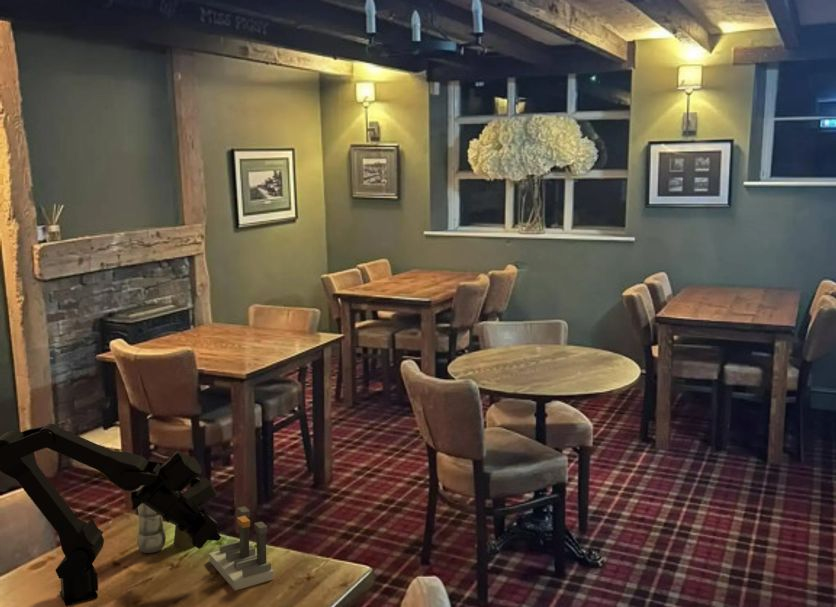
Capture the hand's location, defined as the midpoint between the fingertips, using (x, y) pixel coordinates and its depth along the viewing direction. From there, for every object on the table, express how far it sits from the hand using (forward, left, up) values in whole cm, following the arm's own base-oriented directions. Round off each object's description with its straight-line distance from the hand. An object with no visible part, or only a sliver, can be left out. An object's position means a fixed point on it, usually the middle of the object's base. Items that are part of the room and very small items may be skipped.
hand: (219, 538), depth 178 cm
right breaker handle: (+8, -5, -7) cm, 11 cm away
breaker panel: (+5, 0, -9) cm, 10 cm away
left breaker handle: (+8, +5, -7) cm, 12 cm away
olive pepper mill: (-1, +20, -9) cm, 22 cm away
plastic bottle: (-9, +21, -9) cm, 25 cm away
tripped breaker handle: (+6, 0, -7) cm, 9 cm away
